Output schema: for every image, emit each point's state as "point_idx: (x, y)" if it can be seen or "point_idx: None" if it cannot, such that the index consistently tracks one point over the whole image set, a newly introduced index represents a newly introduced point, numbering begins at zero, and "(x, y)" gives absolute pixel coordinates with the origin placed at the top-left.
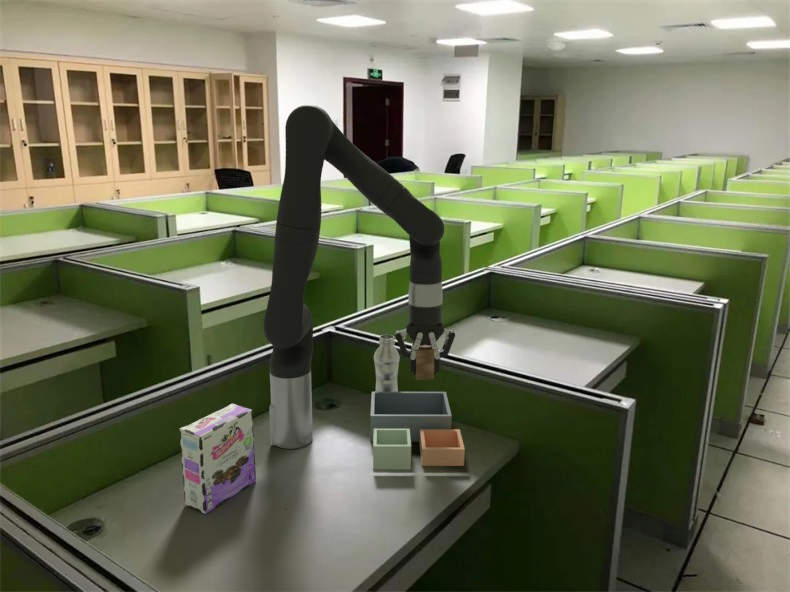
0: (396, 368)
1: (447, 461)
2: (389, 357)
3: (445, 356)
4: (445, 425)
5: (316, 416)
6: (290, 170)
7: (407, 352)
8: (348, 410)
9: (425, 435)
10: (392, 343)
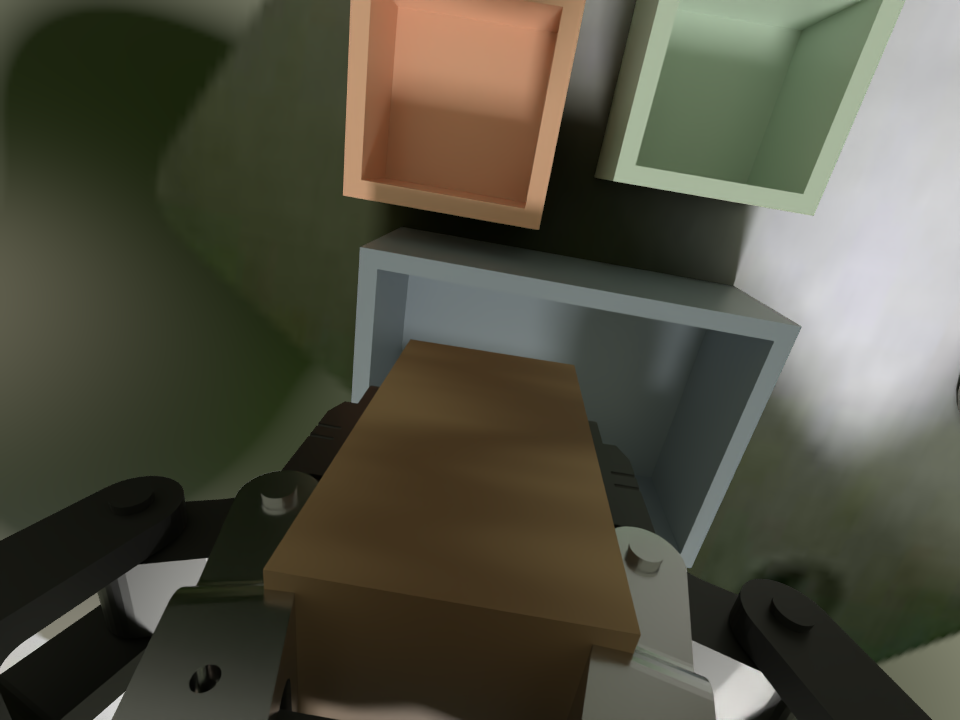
0: None
1: None
2: None
3: (157, 478)
4: (405, 244)
5: (865, 529)
6: None
7: (746, 659)
8: (726, 546)
9: (515, 204)
10: None
